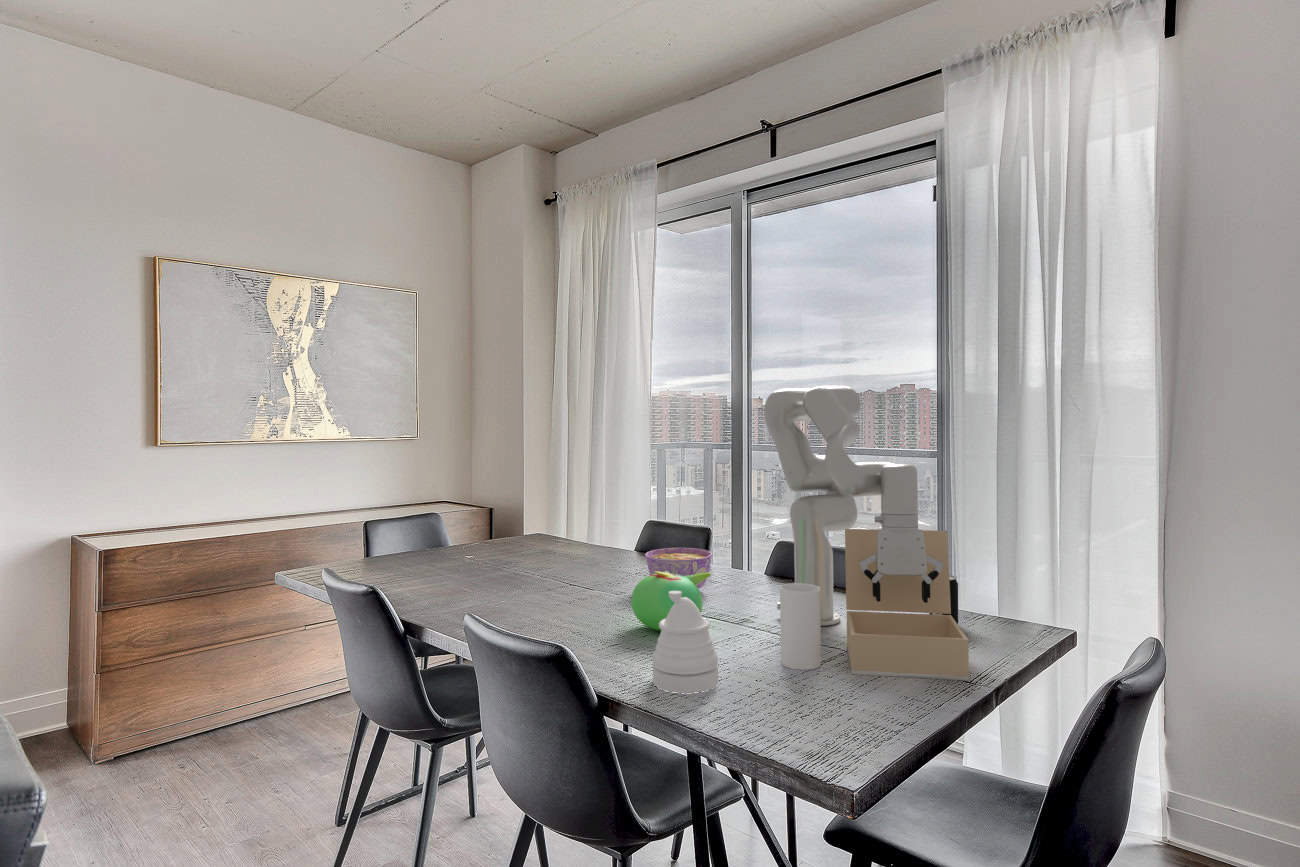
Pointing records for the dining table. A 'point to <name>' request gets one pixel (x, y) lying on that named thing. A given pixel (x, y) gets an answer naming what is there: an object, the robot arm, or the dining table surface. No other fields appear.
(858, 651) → the mailer box
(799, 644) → the cup
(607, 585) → the dining table surface
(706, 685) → the honey pot
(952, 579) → the beverage can
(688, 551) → the bowl of food
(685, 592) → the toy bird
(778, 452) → the robot arm
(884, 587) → the lid
